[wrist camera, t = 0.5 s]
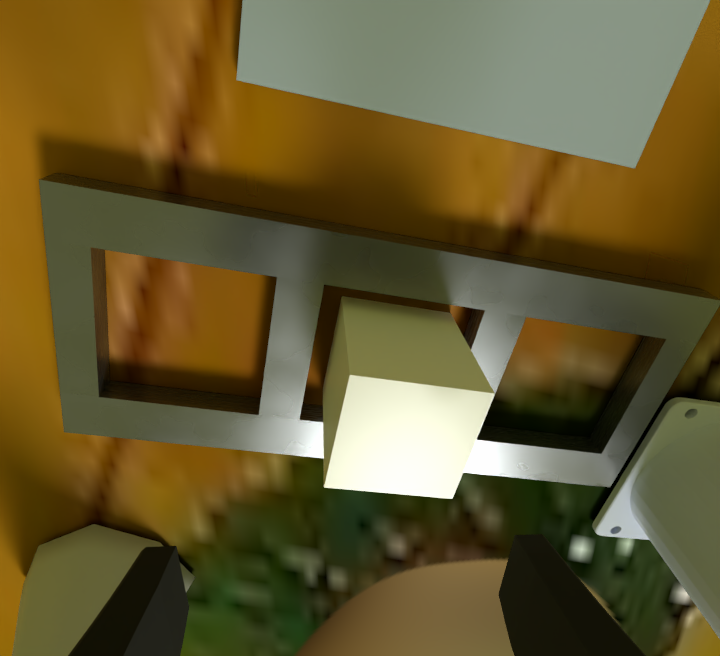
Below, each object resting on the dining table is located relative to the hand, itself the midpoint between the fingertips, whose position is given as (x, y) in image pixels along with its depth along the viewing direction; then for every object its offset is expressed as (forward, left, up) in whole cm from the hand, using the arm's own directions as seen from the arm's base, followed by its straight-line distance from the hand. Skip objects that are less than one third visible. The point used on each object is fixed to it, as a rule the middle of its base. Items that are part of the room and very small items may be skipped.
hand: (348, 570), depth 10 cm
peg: (-2, -1, -9) cm, 9 cm away
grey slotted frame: (-2, -1, -9) cm, 9 cm away
